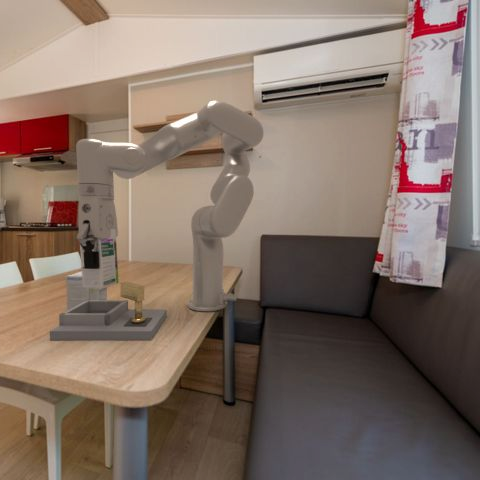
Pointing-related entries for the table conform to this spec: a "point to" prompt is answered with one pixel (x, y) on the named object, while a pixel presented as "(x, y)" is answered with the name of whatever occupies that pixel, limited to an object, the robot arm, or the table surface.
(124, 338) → the plate
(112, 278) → the syrup box
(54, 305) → the table surface
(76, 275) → the light bulb box
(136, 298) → the brass key
